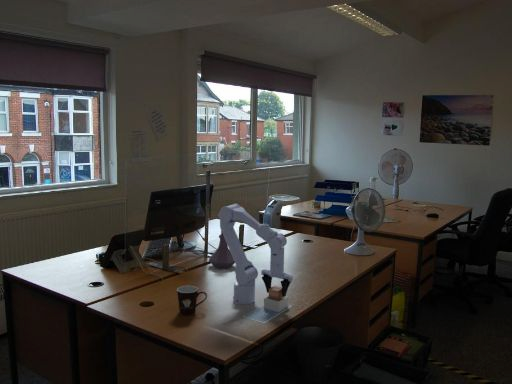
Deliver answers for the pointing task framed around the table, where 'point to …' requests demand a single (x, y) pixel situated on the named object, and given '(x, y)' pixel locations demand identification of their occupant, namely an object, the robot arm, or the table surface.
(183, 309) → the coffee mug
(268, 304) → the socket pedestal
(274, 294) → the terracotta block
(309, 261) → the table surface
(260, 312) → the board
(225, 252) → the flask
